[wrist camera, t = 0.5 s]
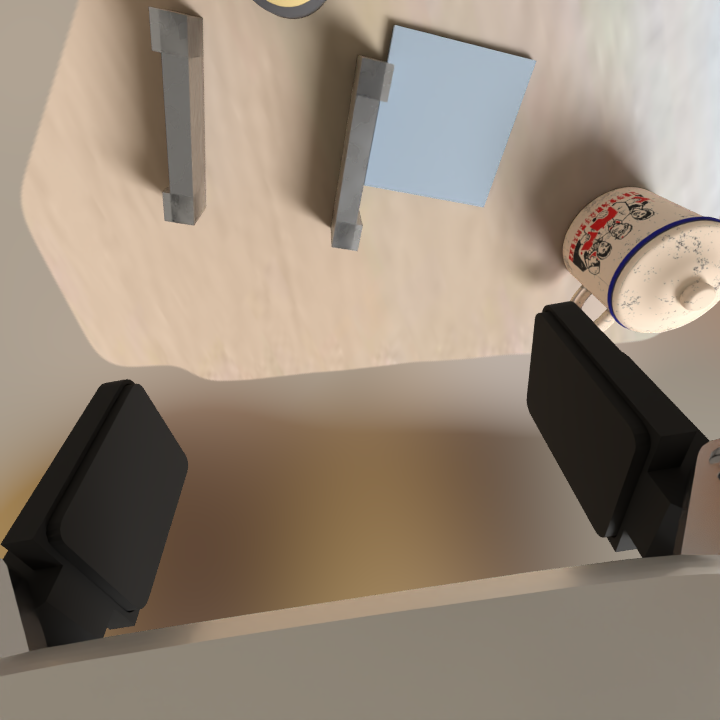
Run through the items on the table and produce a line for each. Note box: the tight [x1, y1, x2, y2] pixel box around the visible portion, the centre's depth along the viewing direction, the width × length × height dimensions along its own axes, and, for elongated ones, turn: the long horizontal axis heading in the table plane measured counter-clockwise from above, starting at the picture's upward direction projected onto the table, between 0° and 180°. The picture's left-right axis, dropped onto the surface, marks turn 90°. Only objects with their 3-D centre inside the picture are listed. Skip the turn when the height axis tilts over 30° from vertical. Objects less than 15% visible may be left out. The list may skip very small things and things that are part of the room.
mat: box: [364, 25, 536, 207], centre depth 32 cm, size 10×10×1 cm
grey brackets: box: [149, 7, 395, 251], centre depth 30 cm, size 12×14×4 cm
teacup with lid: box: [563, 187, 720, 333], centre depth 34 cm, size 12×9×12 cm
